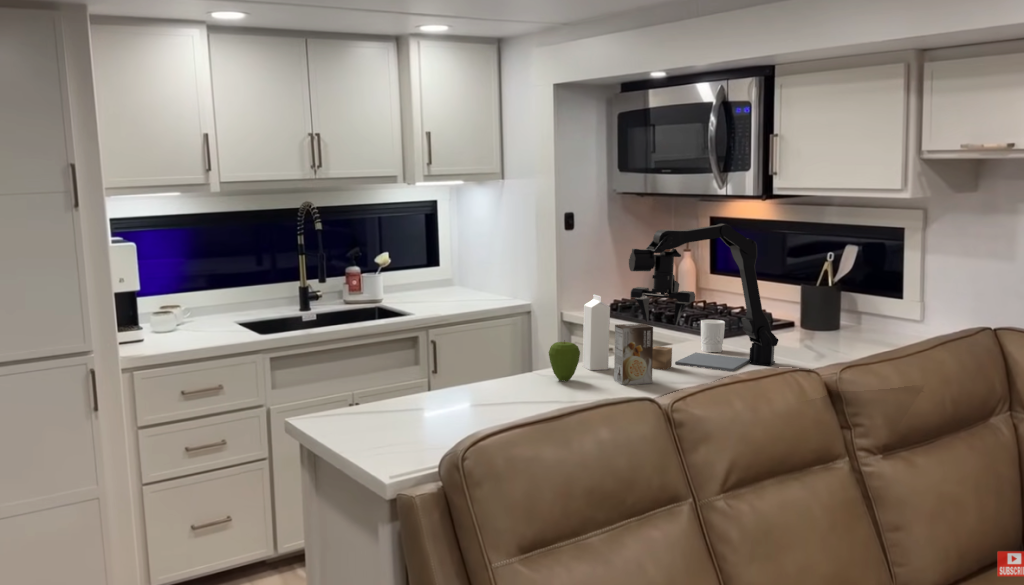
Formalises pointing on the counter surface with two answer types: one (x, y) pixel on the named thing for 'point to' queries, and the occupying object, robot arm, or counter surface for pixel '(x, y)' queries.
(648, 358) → the printed cardboard box
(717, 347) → the white cup
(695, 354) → the slate mat
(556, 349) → the apple
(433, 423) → the counter surface
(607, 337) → the milk
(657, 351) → the walnut block
